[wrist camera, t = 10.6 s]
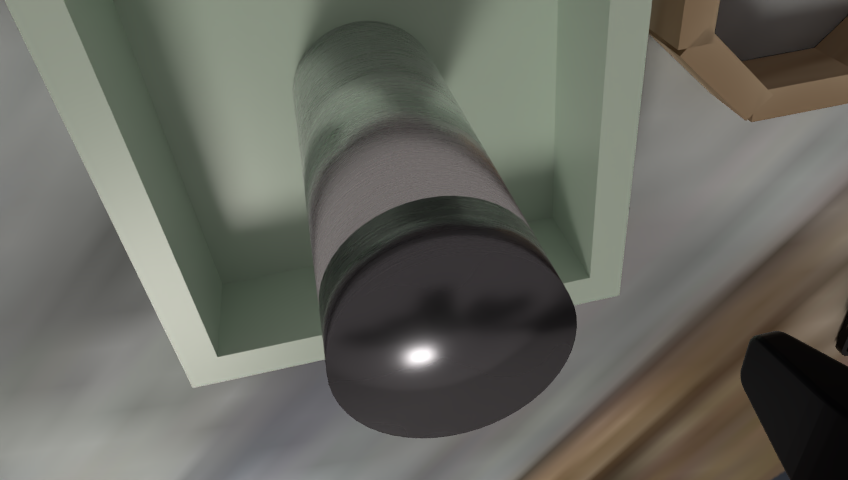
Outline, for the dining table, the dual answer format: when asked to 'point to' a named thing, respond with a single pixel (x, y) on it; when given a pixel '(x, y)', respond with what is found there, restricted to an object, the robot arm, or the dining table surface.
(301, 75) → the strut
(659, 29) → the socket ring
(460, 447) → the dining table surface
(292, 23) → the bin
